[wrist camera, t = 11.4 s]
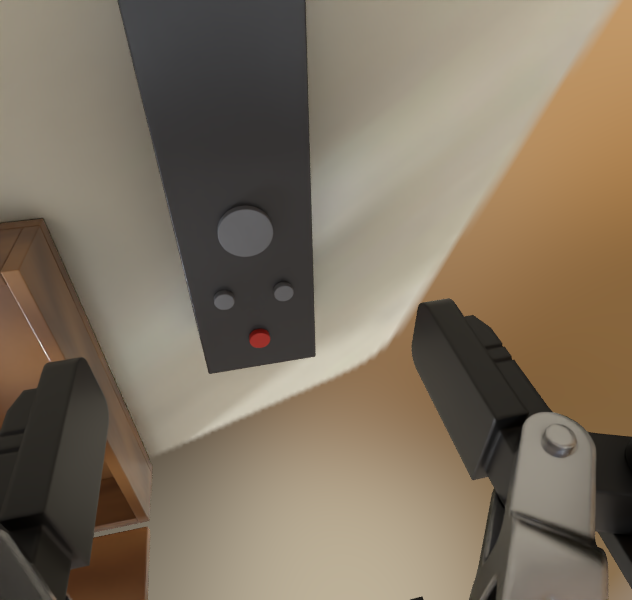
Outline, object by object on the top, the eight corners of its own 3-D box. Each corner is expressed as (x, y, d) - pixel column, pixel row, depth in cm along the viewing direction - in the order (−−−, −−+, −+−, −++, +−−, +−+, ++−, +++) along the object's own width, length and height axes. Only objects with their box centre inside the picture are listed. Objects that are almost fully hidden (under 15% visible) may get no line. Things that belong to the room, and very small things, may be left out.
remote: (124, -32, 14) (110, -19, 12) (286, -38, 15) (307, -28, 12) (207, 327, 24) (209, 379, 21) (303, 313, 25) (317, 361, 22)
